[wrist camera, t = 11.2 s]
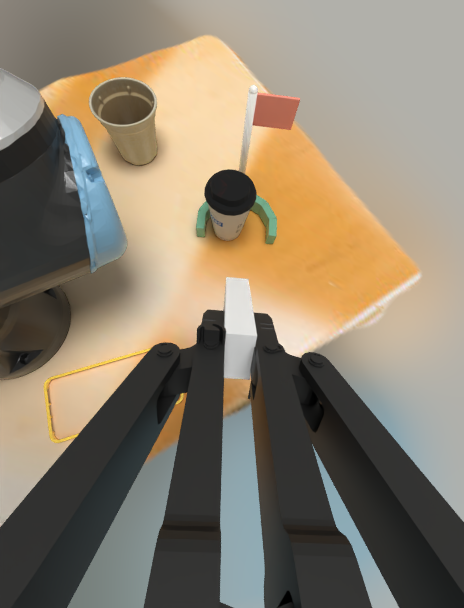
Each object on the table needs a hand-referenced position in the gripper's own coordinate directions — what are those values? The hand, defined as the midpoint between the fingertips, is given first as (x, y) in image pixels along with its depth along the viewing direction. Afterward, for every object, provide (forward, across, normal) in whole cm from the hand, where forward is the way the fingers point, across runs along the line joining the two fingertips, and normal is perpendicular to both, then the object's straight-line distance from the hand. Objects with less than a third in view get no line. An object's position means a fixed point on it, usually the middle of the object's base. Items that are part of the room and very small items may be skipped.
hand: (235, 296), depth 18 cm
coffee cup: (+27, -1, -1) cm, 27 cm away
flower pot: (+37, -17, +8) cm, 41 cm away
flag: (+32, +3, +4) cm, 32 cm away
